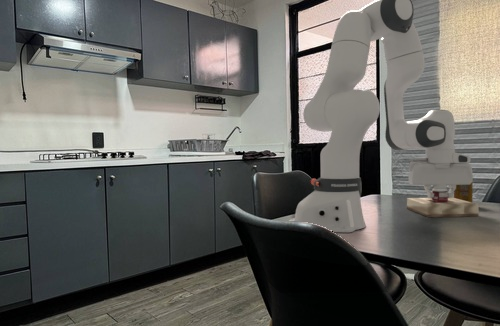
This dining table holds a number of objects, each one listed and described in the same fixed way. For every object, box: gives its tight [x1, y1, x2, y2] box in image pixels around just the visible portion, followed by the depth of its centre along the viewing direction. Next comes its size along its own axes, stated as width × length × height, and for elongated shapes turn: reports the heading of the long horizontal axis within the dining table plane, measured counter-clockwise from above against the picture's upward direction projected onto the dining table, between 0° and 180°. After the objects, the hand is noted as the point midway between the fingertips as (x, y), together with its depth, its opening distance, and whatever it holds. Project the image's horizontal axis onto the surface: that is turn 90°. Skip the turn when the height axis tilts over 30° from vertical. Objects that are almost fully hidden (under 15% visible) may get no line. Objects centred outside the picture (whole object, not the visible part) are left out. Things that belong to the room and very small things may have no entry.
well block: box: [406, 197, 480, 218], centre depth 119 cm, size 16×16×4 cm
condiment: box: [453, 181, 474, 203], centre depth 131 cm, size 7×8×12 cm
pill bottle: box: [431, 184, 449, 203], centre depth 119 cm, size 5×5×8 cm
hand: (439, 198), depth 119 cm, fingers closed on pill bottle, 5 cm apart
